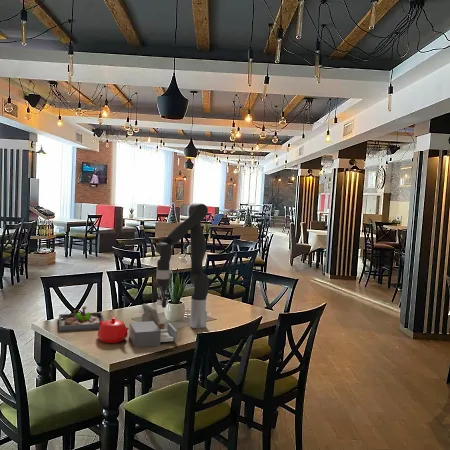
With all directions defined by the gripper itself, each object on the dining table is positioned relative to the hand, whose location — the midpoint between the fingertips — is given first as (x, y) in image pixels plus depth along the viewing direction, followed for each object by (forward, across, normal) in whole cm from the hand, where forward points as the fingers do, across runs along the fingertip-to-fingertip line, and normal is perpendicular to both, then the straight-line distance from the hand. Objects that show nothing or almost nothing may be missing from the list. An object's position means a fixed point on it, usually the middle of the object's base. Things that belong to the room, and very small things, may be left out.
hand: (162, 305), depth 242 cm
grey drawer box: (+14, -14, +4) cm, 20 cm away
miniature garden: (+15, +26, +42) cm, 51 cm away
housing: (+15, -14, +13) cm, 24 cm away
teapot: (+15, -9, +29) cm, 33 cm away
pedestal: (+15, 0, +1) cm, 15 cm away
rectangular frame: (+14, +25, +42) cm, 51 cm away
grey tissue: (+15, +19, +2) cm, 24 cm away
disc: (-1, 0, 0) cm, 1 cm away
